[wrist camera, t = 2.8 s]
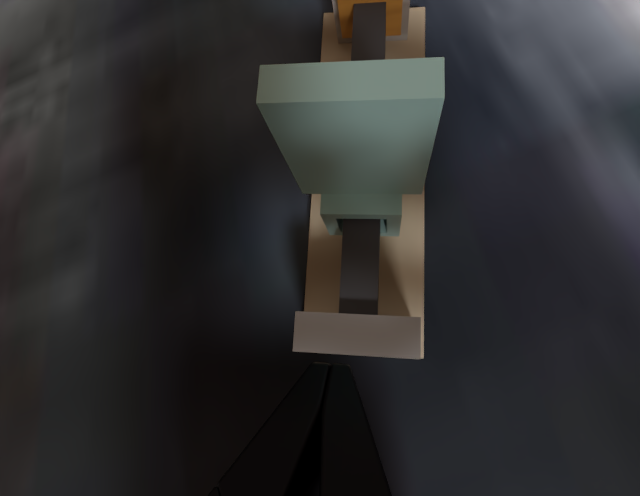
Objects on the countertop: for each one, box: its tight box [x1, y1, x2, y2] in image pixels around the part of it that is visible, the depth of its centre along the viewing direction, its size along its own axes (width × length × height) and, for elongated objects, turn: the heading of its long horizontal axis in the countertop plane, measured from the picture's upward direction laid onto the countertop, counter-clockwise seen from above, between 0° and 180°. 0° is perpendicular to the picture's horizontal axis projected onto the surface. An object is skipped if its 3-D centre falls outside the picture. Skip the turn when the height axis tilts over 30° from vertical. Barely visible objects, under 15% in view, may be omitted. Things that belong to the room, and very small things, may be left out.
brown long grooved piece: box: [293, 0, 425, 359], centre depth 21 cm, size 20×6×6 cm, turn 177°
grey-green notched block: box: [256, 57, 445, 236], centre depth 17 cm, size 3×5×10 cm, turn 87°
